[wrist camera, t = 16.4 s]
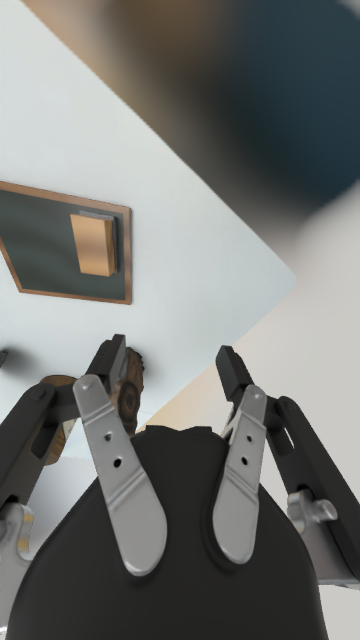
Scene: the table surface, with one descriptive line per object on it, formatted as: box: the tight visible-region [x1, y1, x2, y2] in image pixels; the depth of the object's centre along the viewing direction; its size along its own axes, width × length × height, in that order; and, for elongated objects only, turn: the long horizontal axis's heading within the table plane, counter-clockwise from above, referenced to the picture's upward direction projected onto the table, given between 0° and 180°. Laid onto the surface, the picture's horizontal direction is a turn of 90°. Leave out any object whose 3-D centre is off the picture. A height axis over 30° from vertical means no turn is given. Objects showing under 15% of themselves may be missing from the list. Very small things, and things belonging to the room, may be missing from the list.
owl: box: [107, 347, 144, 438], centre depth 39 cm, size 13×13×20 cm
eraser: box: [70, 210, 119, 276], centre depth 25 cm, size 9×5×5 cm, turn 170°
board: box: [0, 181, 131, 305], centre depth 28 cm, size 18×22×2 cm
